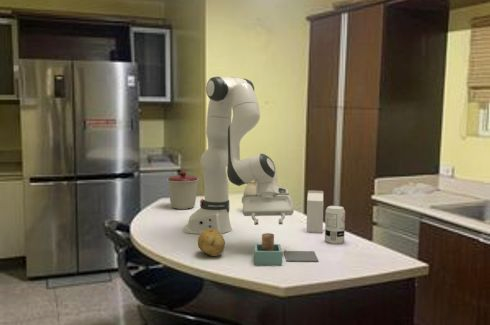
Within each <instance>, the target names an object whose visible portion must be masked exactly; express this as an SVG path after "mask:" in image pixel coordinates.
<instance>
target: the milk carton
mask: <svg viewBox="0 0 490 325" xmlns="http://www.w3.org/2000/svg"><path fill="white" fill-rule="evenodd" d="M306 199H307V200H306V201H307V202H306V232H307V233H319V234H320V233H322V234H323V228H324V190H307V198H306Z"/></svg>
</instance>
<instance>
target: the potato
mask: <svg viewBox="0 0 490 325" xmlns="http://www.w3.org/2000/svg"><path fill="white" fill-rule="evenodd" d="M197 246H198V249H199V250H200V251H201V252H202V253H205V254H207V255H209V256H212V257H217V256H220V255H221V254H223V251H224V250H225V248H226V240H225V238H224V236H223V233H220V232H218V231H216V230H213V229H209V230H205V231H204V232H202V233H201V234H199V235H198V239H197Z"/></svg>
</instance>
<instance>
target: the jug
mask: <svg viewBox="0 0 490 325" xmlns="http://www.w3.org/2000/svg"><path fill="white" fill-rule="evenodd" d="M256 187H257V182H256V180H254V181H251V182H247V183H246V186H245V188H244V190H243V194H242V197H243V196H245V195H255V194H256Z"/></svg>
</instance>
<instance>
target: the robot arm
mask: <svg viewBox="0 0 490 325" xmlns="http://www.w3.org/2000/svg"><path fill="white" fill-rule="evenodd" d="M205 93H206V96H207V97H208V99H209V102H208V107H207V113H206V114H207V115H206V131H205V133H206V137H207V149H205V150H204V152H203V153H201V154H202V155H201V157H200V166H201V169H202V175H203V182H204V199H203V198H202V199H200V200H199V207H200V208H199V209H197V210H196V211H195V212H193V213H192V214H191V215H190V217H189V218H188V222H187V224H186V225H185V226H183V229H182V231H183V233H185V234H198V235H200V234H201V233H202V232H204V231H205V230H209V229H213V230H216V231H218V232H220V233H221V234H224V233H229V232H231V231H232V230H233V229H232V228H233V227H232V226H231V221H230V219H231V218H230V200H229V182H230V183H231V184H234V185H236V186H237V187H240V186H244V185H245V184H246V183H247V182H254V181H255V180H256V182H257V187H256V194H255V195H245V196H243V195H242V197H241V203H242V214H243V216H244V217H251V219H252V220H253V222H254V226H258V225H259V218H256V217H264V216H266V217H267V216H268V217H269V216H272V217H274V216H275V217H276V216H277V217H279V216H280V218H278V225H283V223H284V222H283V221H284V219H285V218H286V216H293V214H294V208H295V207H294V203H293V199H292V197H291V196H290V191H289V189H288V188H283V187H280V186H278V184H277V182H278V174H277V173H278V172H277V167H276V165H275V162H274V161H273V160H272V158H271V157H270V156H268V155H266V154H265V153H258V154H256V155H252V156H249V157H246V158H242V159H241V155H240V154H241V152H240V151H241V150H240V146H241V145H240V144H241V140H242V138H244V136H245V135H246V134H247V133H249V132H250V131H251V130H253V129H254V128H255V127H256V126H257V124H258V123H259V121H260V118H261V111H260V106H259V102H258V98H257V95H256V93H255V86H254V83H253V82H252V81H251V80H249V79H247V78H241V77H233V76H213V77H210V78H209V80H208V81H207V82H206V87H205ZM228 181H229V182H228ZM246 185H247V184H246Z"/></svg>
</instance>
